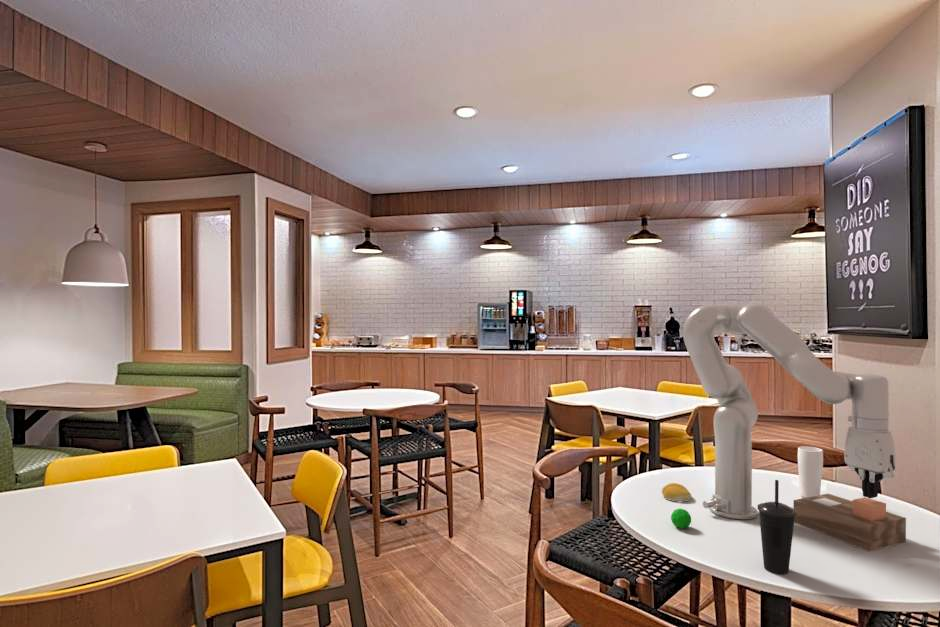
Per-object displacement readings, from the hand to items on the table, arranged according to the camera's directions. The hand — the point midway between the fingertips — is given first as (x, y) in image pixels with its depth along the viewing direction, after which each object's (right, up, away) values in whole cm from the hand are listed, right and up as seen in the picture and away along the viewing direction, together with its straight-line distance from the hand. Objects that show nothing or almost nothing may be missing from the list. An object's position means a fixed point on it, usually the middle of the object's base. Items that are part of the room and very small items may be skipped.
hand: (870, 496), depth 143 cm
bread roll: (-37, -11, +32) cm, 50 cm away
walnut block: (-2, -11, +5) cm, 12 cm away
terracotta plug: (0, -5, 0) cm, 5 cm away
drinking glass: (+4, -11, +32) cm, 34 cm away
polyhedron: (-45, -11, +8) cm, 47 cm away
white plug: (-4, -9, +10) cm, 14 cm away
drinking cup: (-32, -11, -16) cm, 38 cm away
